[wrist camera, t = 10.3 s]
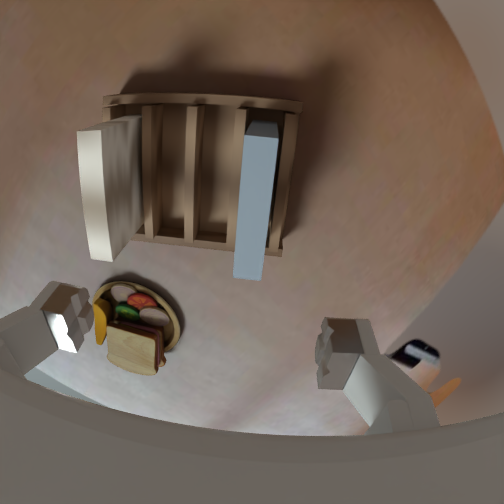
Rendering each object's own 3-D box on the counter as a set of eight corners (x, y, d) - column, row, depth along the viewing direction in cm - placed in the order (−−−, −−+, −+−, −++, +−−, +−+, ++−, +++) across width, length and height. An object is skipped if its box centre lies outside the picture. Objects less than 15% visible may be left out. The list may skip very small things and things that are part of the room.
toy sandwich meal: (190, 295, 37) (181, 322, 33) (173, 362, 44) (165, 387, 40) (96, 263, 36) (78, 285, 32) (96, 334, 42) (83, 357, 38)
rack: (118, 94, 26) (56, 105, 17) (300, 101, 25) (314, 109, 17) (123, 224, 33) (77, 276, 24) (280, 240, 32) (282, 304, 24)
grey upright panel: (253, 119, 26) (244, 135, 18) (276, 121, 25) (278, 138, 18) (243, 224, 31) (232, 277, 23) (264, 226, 30) (260, 280, 23)
